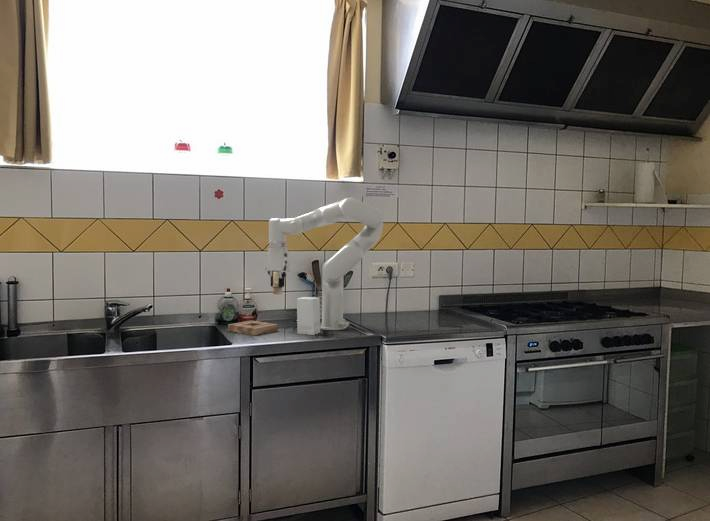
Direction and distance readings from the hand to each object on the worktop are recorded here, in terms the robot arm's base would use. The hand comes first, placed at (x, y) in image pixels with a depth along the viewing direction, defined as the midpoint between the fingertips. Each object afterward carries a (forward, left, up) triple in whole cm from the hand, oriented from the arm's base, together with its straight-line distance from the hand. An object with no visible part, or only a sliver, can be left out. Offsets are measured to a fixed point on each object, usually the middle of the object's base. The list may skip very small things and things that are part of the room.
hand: (277, 286), depth 269 cm
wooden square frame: (+2, +13, -19) cm, 23 cm away
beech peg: (0, 0, -3) cm, 3 cm away
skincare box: (-20, +2, -19) cm, 28 cm away
